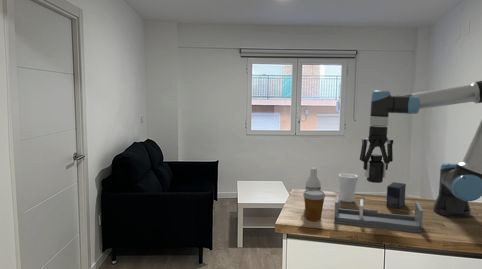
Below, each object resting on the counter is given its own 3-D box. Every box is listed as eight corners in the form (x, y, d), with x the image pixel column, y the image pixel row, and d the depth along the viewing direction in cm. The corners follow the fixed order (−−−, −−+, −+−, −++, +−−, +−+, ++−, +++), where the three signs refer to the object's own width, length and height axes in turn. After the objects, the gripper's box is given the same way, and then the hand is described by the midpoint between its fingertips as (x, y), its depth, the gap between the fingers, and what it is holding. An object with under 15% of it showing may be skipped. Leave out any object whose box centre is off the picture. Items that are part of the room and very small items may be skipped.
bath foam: (318, 212, 172) (319, 170, 170) (303, 210, 175) (304, 168, 172) (321, 208, 178) (322, 167, 176) (306, 206, 181) (308, 165, 179)
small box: (391, 201, 190) (392, 181, 189) (405, 204, 186) (406, 183, 185) (385, 206, 182) (386, 185, 180) (399, 209, 178) (400, 188, 177)
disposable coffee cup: (328, 219, 163) (329, 192, 162) (315, 224, 157) (316, 196, 156) (311, 213, 170) (311, 188, 169) (297, 218, 164) (298, 192, 162)
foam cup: (344, 196, 198) (345, 172, 197) (360, 200, 191) (361, 175, 190) (333, 199, 192) (334, 175, 191) (349, 204, 185) (350, 178, 184)
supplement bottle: (385, 183, 165) (387, 156, 163) (371, 183, 164) (373, 156, 162) (377, 179, 172) (379, 153, 170) (363, 179, 170) (365, 153, 169)
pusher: (376, 215, 165) (377, 200, 164) (377, 223, 156) (378, 207, 155) (359, 213, 167) (360, 199, 166) (359, 221, 158) (360, 205, 157)
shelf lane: (416, 221, 162) (418, 201, 161) (421, 232, 149) (423, 211, 148) (336, 212, 172) (337, 194, 171) (334, 222, 159) (335, 202, 158)
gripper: (396, 125, 169) (392, 175, 172) (353, 124, 168) (350, 174, 170) (404, 127, 162) (400, 179, 164) (359, 126, 160) (356, 178, 163)
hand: (374, 176), depth 167 cm, fingers closed on supplement bottle, 7 cm apart
